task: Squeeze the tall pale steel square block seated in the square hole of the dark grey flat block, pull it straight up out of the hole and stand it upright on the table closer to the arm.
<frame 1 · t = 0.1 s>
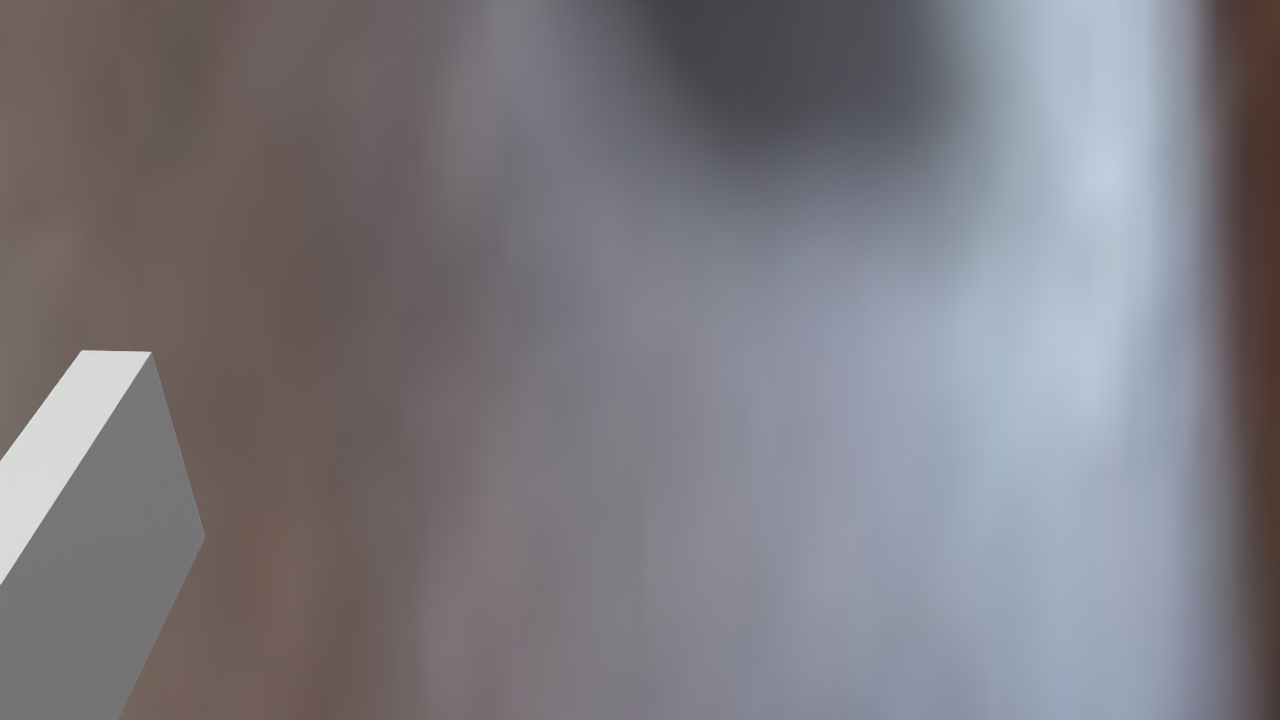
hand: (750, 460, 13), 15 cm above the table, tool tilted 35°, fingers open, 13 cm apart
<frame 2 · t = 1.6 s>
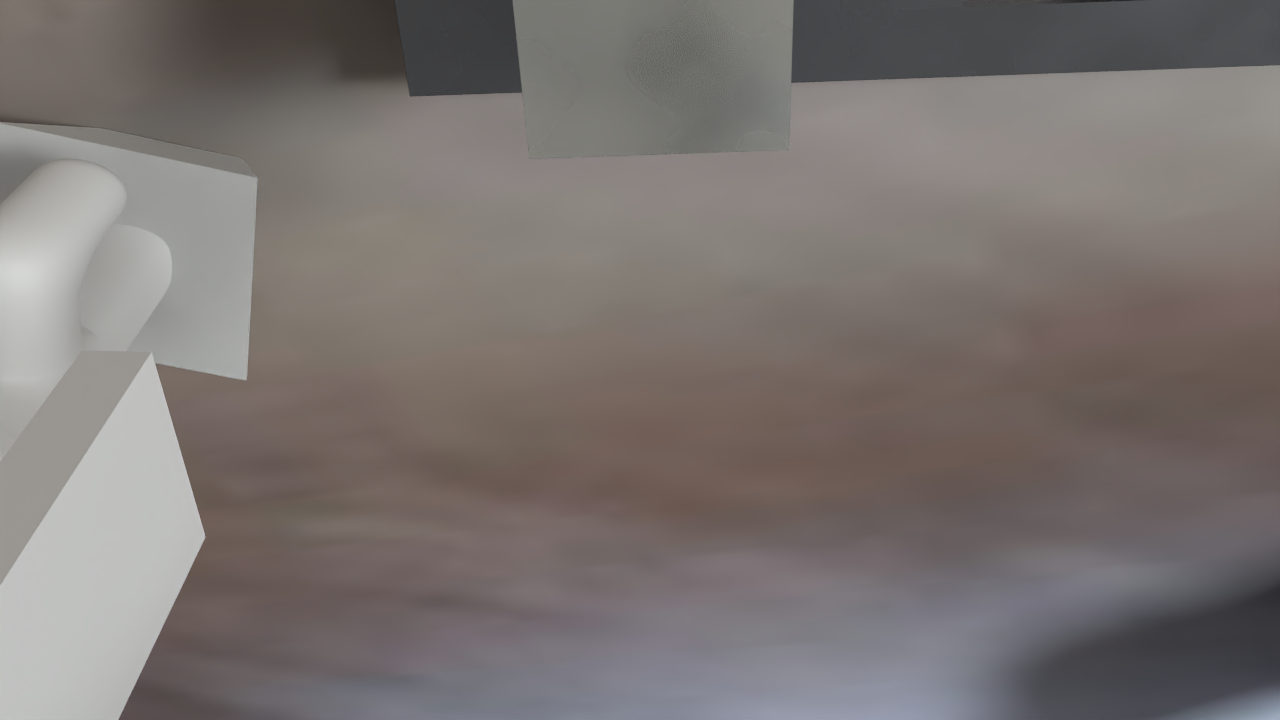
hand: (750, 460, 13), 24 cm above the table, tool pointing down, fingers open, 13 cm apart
figurine: (173, 201, 38), on the table
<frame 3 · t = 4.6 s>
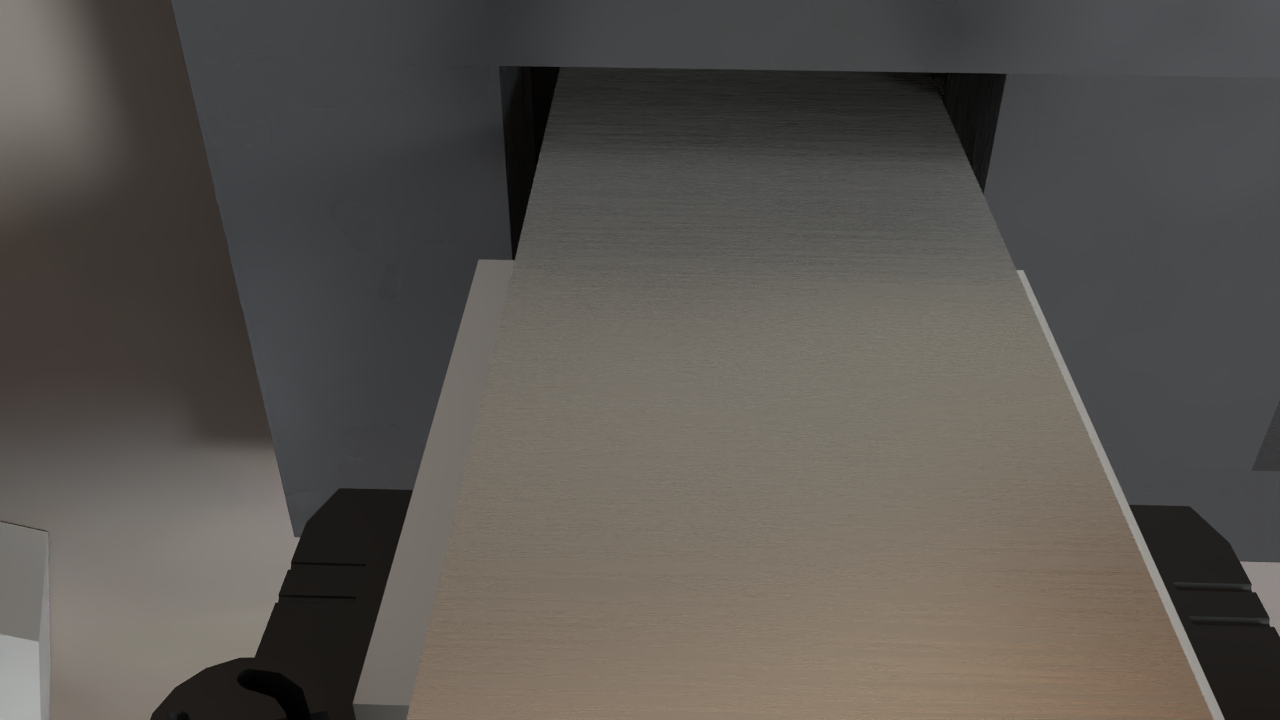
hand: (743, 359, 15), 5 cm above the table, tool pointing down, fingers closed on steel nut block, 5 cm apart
dark grey flat block: (1050, 191, 18), on the table
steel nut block: (732, 184, 19), resting in dark grey flat block, touching gripper
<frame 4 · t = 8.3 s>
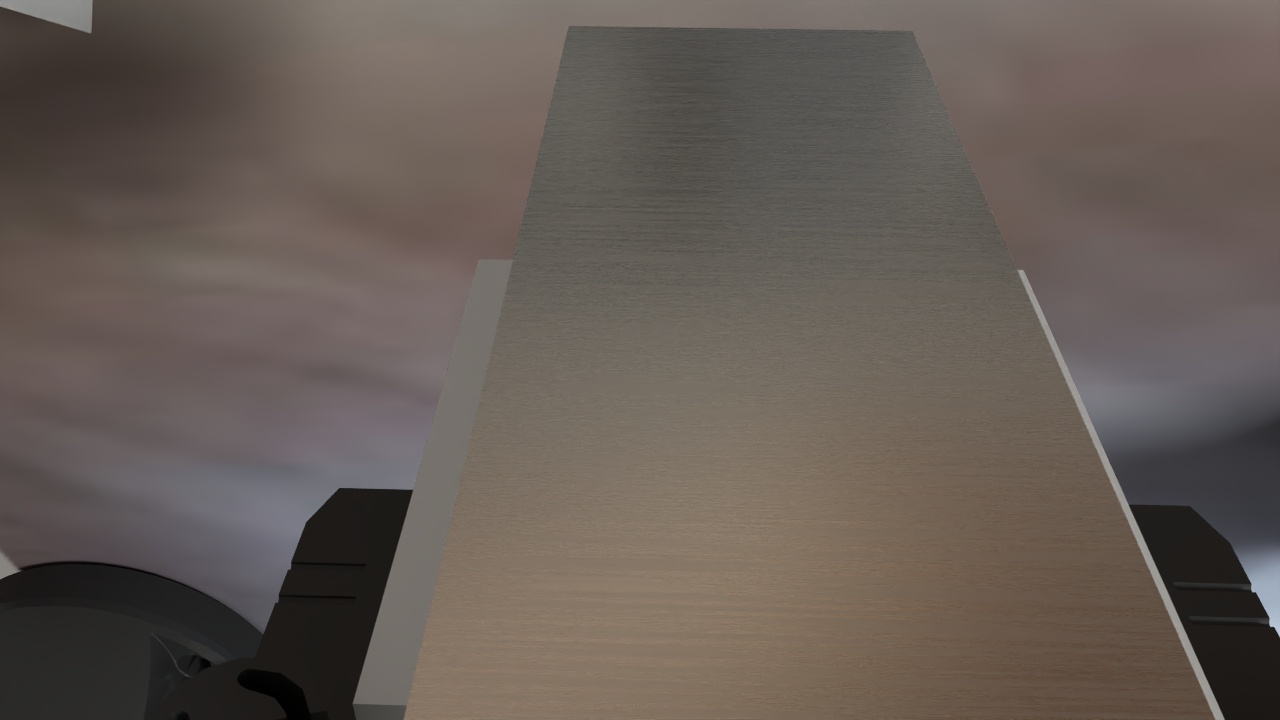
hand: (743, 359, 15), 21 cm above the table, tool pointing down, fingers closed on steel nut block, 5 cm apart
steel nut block: (731, 183, 19), point 17 cm above the table, touching gripper
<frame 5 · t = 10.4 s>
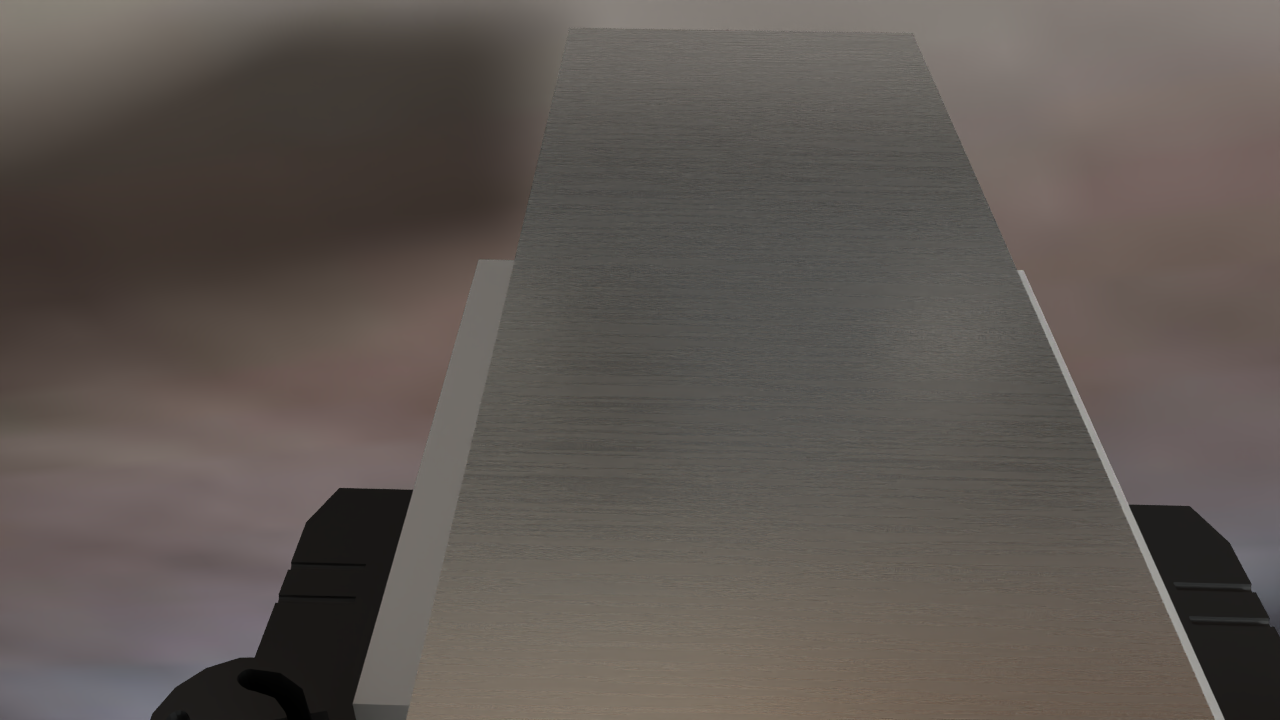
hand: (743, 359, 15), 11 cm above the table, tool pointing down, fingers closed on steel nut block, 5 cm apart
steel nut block: (732, 184, 19), point 7 cm above the table, touching gripper
when the fingers open (6 cm above the table, at t = 12.1 s): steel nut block drops 1 cm, on the table.
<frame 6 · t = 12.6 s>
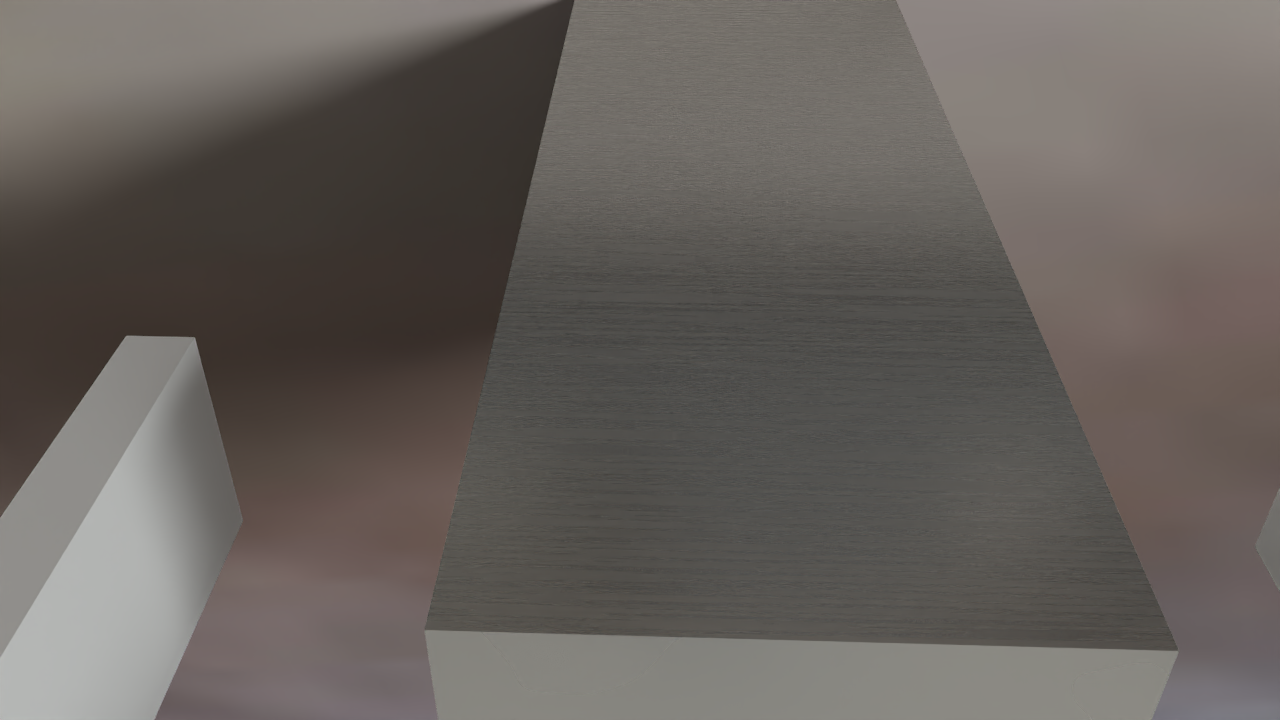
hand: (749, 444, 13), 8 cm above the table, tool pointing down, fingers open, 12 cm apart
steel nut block: (727, 144, 20), on the table
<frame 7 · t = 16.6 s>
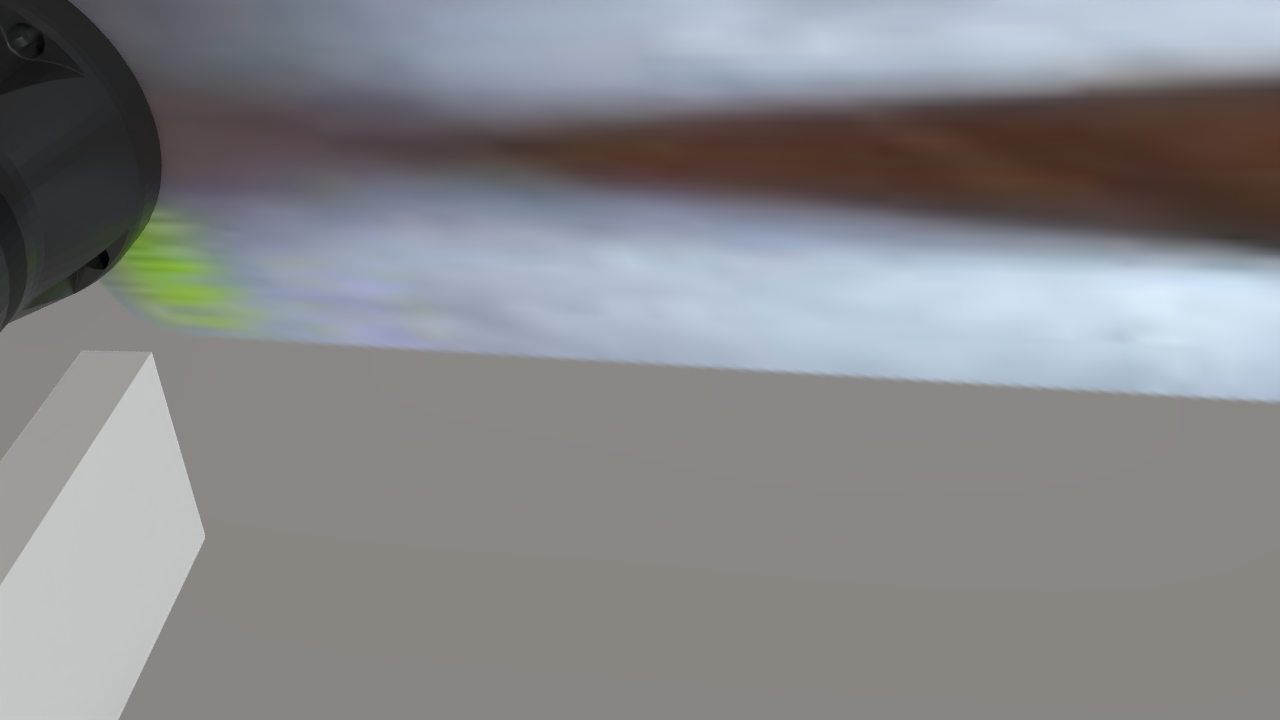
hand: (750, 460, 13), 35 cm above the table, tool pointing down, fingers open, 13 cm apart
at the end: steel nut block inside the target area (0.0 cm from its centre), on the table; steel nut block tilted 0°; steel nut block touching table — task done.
